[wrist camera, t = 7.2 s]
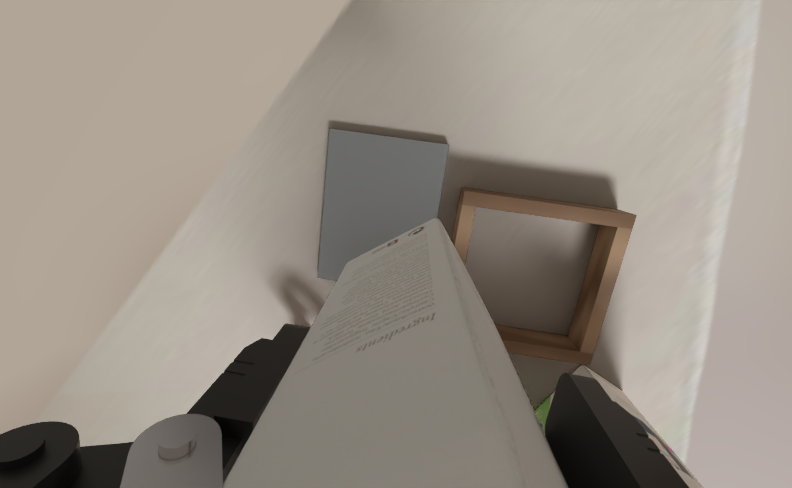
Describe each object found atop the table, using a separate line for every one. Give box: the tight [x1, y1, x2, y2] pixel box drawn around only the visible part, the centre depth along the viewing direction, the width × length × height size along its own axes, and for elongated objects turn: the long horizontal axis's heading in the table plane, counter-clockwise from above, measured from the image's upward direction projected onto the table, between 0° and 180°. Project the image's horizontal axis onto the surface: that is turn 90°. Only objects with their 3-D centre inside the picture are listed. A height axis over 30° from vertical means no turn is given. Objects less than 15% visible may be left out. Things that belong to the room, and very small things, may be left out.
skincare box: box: [223, 218, 569, 488], centre depth 9 cm, size 6×4×12 cm
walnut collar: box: [452, 187, 636, 365], centre depth 28 cm, size 12×12×2 cm
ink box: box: [534, 365, 703, 488], centre depth 25 cm, size 9×5×15 cm, turn 145°
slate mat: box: [317, 128, 449, 281], centre depth 29 cm, size 12×9×1 cm
